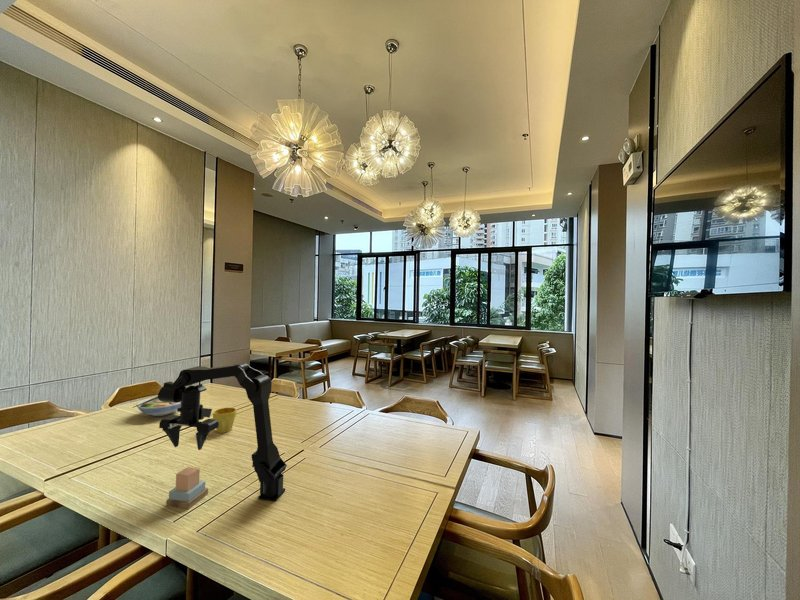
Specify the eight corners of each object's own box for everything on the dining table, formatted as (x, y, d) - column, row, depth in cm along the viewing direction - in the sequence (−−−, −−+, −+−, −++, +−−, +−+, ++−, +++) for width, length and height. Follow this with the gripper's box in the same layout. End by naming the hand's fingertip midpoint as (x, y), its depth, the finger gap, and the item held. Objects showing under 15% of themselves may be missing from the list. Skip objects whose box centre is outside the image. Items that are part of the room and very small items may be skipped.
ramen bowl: (165, 423, 166) (166, 407, 166) (122, 421, 167) (122, 406, 167) (196, 407, 191) (197, 393, 191) (159, 406, 192) (159, 392, 192)
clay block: (199, 483, 106) (199, 468, 106) (187, 491, 101) (188, 475, 101) (187, 481, 107) (187, 466, 107) (175, 489, 102) (176, 473, 102)
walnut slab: (207, 496, 107) (208, 488, 107) (188, 511, 99) (189, 503, 100) (186, 493, 109) (186, 485, 109) (166, 508, 101) (166, 500, 101)
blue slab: (205, 488, 107) (205, 481, 107) (189, 501, 100) (189, 493, 100) (186, 486, 108) (186, 479, 108) (168, 499, 101) (169, 491, 101)
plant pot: (223, 435, 153) (224, 415, 153) (207, 432, 156) (208, 412, 156) (240, 428, 163) (241, 408, 163) (225, 425, 166) (225, 406, 166)
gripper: (229, 399, 119) (227, 441, 119) (185, 394, 121) (182, 436, 121) (208, 408, 108) (205, 455, 108) (159, 403, 110) (156, 449, 110)
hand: (188, 448), depth 112 cm, fingers open, 9 cm apart
